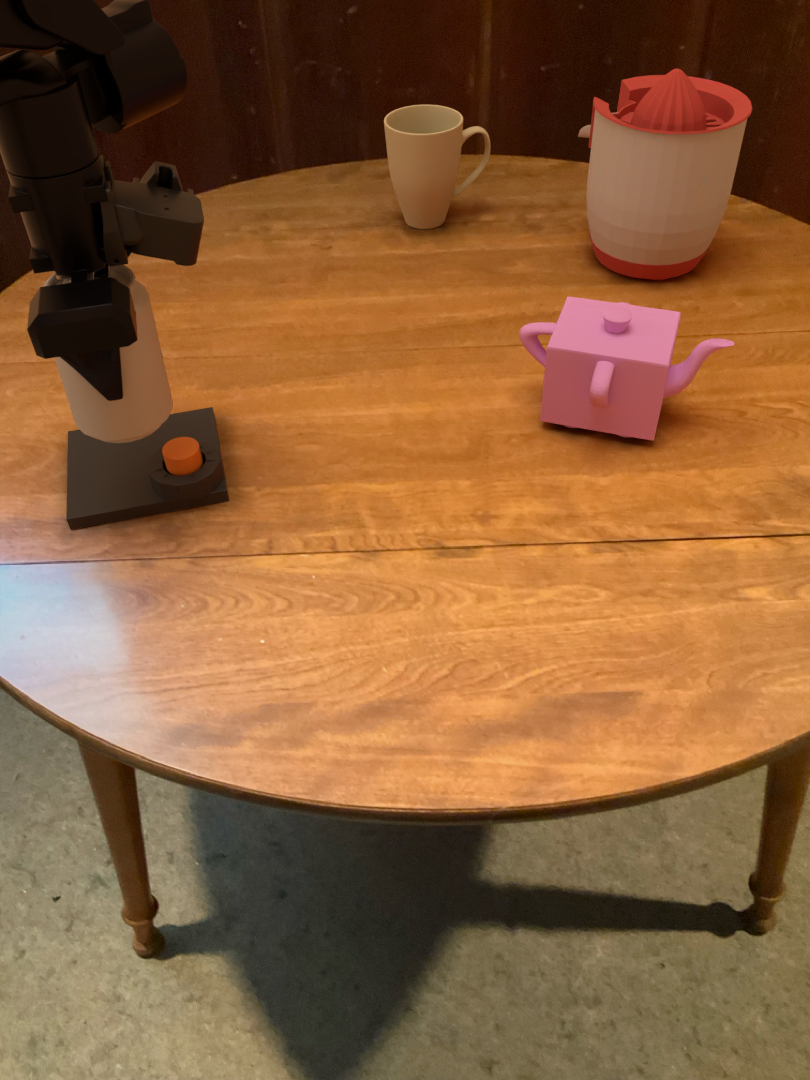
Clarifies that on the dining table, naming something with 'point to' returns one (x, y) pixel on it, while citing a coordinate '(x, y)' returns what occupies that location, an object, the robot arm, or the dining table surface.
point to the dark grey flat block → (141, 473)
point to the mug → (428, 160)
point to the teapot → (611, 365)
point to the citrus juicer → (662, 171)
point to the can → (123, 378)
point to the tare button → (182, 456)
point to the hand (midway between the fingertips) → (115, 369)
